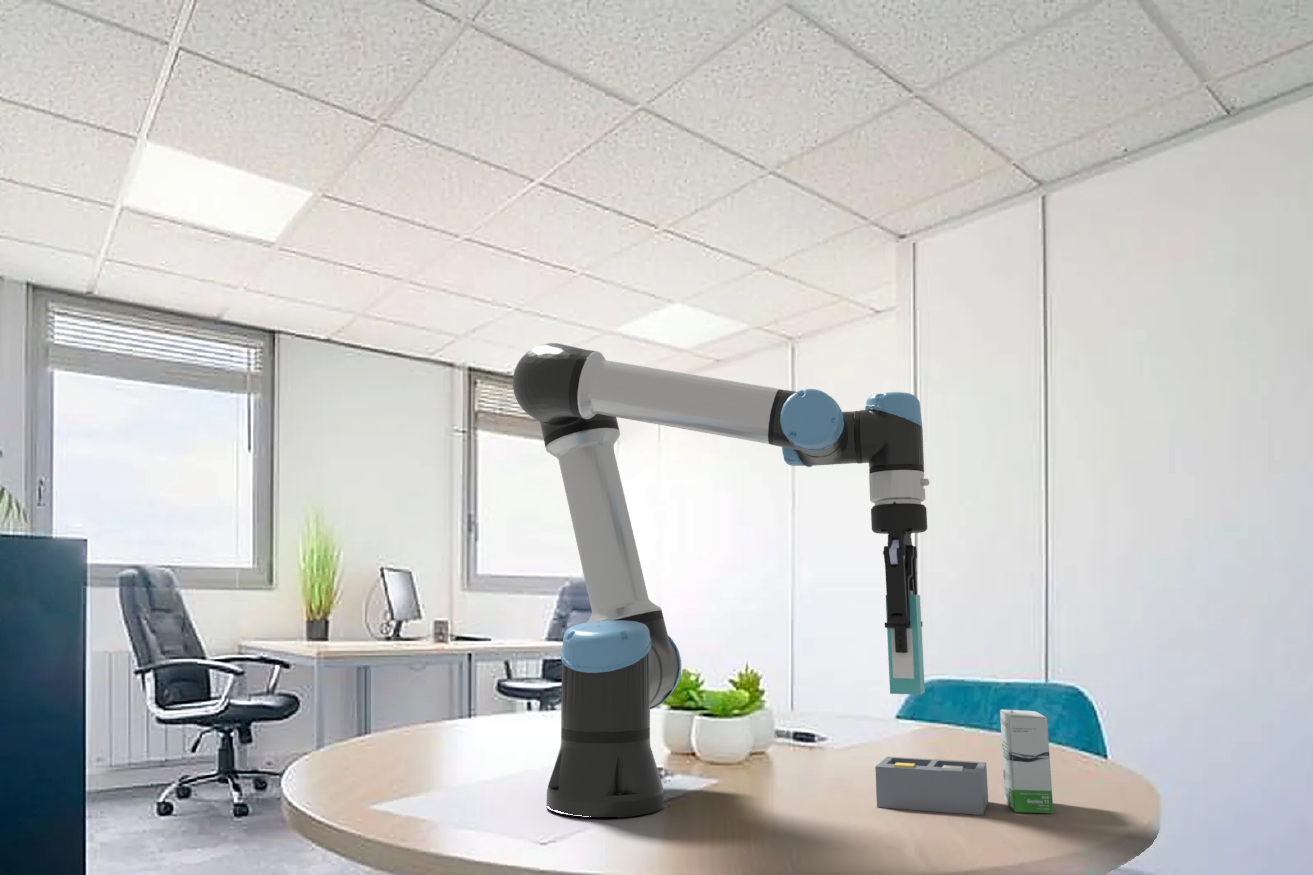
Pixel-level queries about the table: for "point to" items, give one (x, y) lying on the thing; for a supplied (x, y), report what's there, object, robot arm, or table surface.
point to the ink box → (1026, 761)
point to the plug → (918, 682)
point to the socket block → (932, 785)
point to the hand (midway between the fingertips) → (906, 676)
